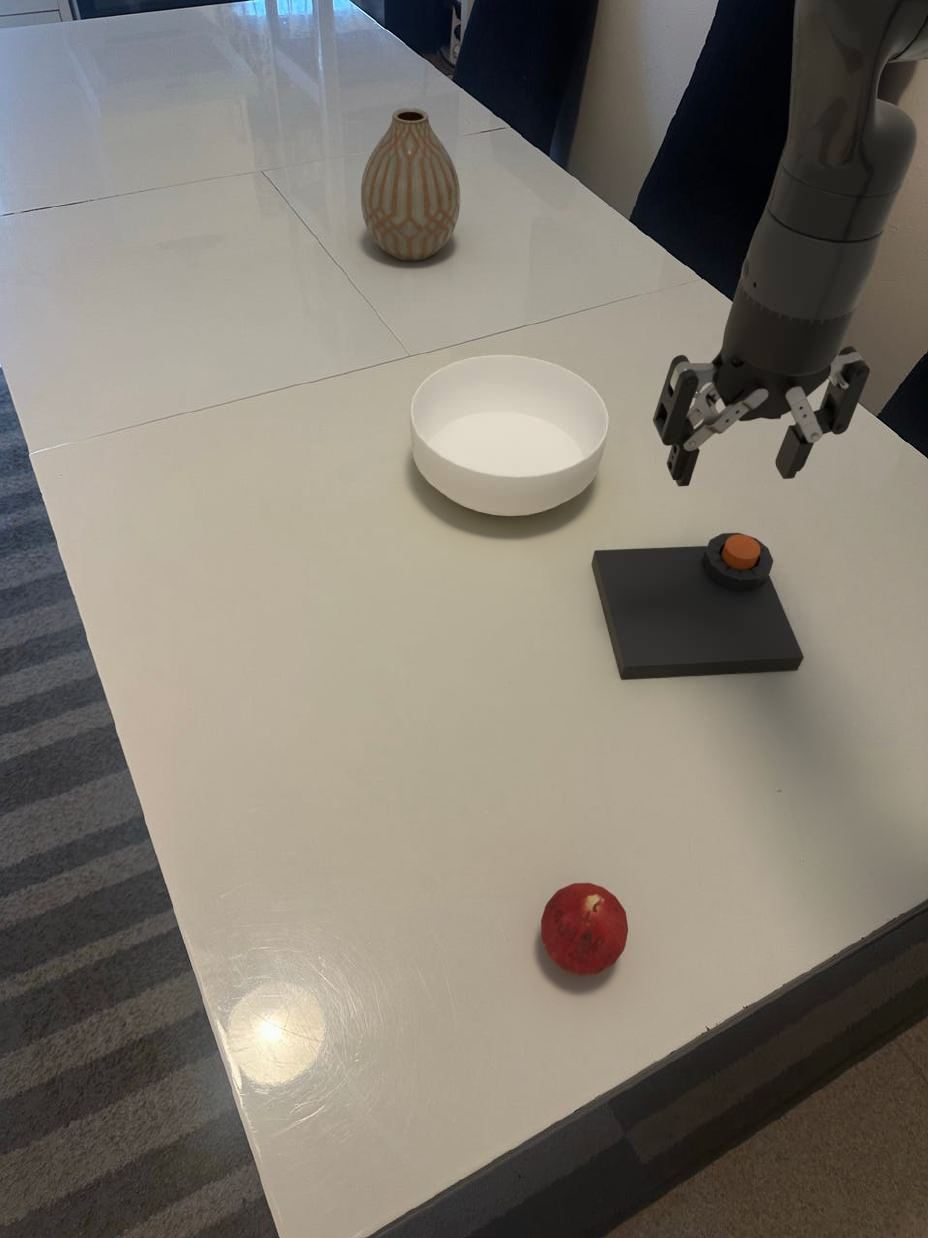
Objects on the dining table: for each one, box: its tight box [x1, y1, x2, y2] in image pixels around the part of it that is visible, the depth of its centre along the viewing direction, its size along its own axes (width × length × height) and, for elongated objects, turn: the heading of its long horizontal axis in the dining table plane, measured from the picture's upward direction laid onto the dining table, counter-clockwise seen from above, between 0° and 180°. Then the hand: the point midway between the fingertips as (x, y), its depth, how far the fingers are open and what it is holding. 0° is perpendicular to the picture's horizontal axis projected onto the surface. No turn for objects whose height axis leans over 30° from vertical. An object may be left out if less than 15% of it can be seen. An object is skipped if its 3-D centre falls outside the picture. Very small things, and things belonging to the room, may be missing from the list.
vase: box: [360, 107, 461, 262], centre depth 120 cm, size 13×13×18 cm
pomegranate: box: [540, 882, 629, 977], centre depth 61 cm, size 6×6×8 cm
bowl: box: [409, 354, 610, 517], centre depth 93 cm, size 20×20×8 cm
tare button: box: [722, 534, 760, 570], centre depth 85 cm, size 3×3×2 cm
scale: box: [591, 532, 805, 680], centre depth 84 cm, size 16×14×4 cm
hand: (732, 475), depth 71 cm, fingers open, 8 cm apart
